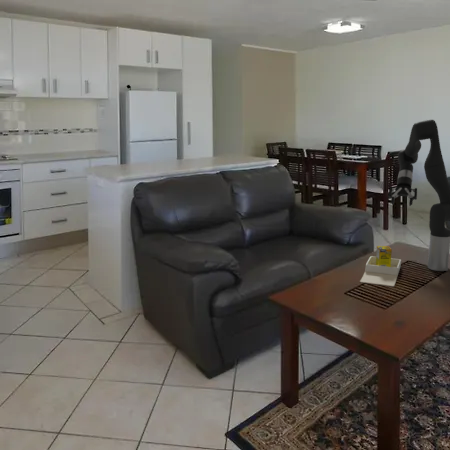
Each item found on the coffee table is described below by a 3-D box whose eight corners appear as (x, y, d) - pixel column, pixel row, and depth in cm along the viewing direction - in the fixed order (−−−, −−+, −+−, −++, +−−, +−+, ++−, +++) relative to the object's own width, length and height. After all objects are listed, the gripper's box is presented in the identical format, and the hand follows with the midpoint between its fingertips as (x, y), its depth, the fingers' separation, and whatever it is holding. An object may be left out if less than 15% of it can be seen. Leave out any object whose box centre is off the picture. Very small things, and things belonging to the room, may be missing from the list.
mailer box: (400, 266, 239) (401, 259, 238) (393, 286, 212) (394, 278, 211) (370, 263, 245) (370, 256, 244) (359, 282, 218) (360, 274, 217)
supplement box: (390, 270, 232) (392, 249, 230) (378, 270, 233) (379, 249, 230) (387, 266, 238) (388, 245, 235) (375, 266, 238) (376, 245, 236)
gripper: (390, 175, 257) (387, 199, 250) (418, 176, 251) (415, 201, 244) (391, 183, 263) (387, 207, 256) (418, 184, 257) (415, 209, 250)
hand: (401, 204), depth 250 cm, fingers open, 8 cm apart
